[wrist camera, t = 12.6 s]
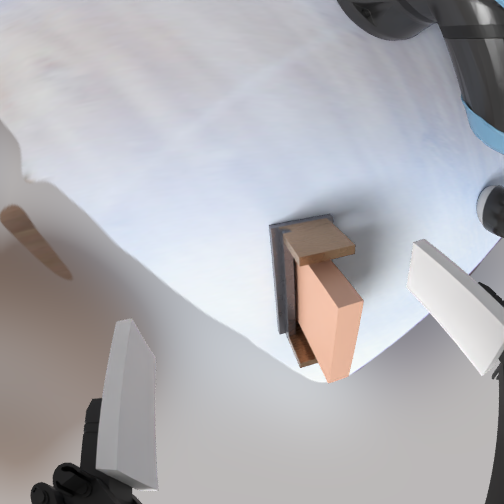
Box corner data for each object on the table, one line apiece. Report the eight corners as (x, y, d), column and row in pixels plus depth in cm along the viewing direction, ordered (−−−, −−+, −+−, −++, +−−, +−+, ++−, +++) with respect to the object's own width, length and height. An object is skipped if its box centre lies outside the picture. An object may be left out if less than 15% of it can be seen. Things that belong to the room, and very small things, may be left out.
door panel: (313, 239, 40) (363, 300, 28) (313, 313, 47) (348, 376, 35) (293, 243, 40) (338, 308, 28) (296, 317, 47) (328, 383, 35)
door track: (330, 214, 40) (362, 243, 32) (326, 317, 50) (347, 353, 42) (268, 225, 39) (290, 259, 31) (278, 330, 49) (294, 369, 41)
